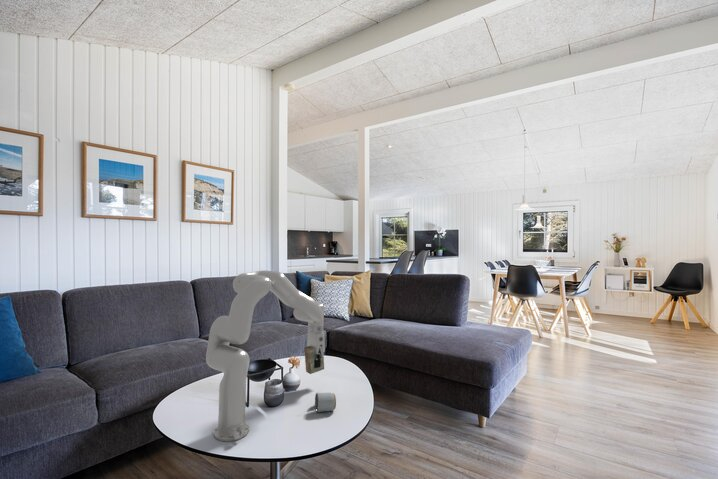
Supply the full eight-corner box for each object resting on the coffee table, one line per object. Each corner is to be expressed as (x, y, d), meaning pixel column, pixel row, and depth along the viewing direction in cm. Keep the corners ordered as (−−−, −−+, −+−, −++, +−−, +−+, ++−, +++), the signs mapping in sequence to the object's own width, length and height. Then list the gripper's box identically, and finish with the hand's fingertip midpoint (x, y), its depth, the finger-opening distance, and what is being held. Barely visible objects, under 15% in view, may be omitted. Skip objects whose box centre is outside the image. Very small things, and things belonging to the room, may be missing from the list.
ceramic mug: (336, 413, 156) (337, 395, 156) (317, 415, 153) (318, 397, 153) (330, 402, 166) (331, 385, 166) (312, 404, 163) (313, 387, 163)
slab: (324, 369, 181) (322, 345, 180) (310, 374, 176) (308, 349, 175) (320, 366, 184) (318, 343, 183) (306, 371, 179) (304, 347, 178)
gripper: (331, 331, 175) (330, 369, 175) (313, 324, 188) (312, 359, 189) (318, 333, 171) (317, 373, 171) (300, 326, 184) (299, 362, 184)
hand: (314, 365), depth 180 cm, fingers closed on slab, 4 cm apart
